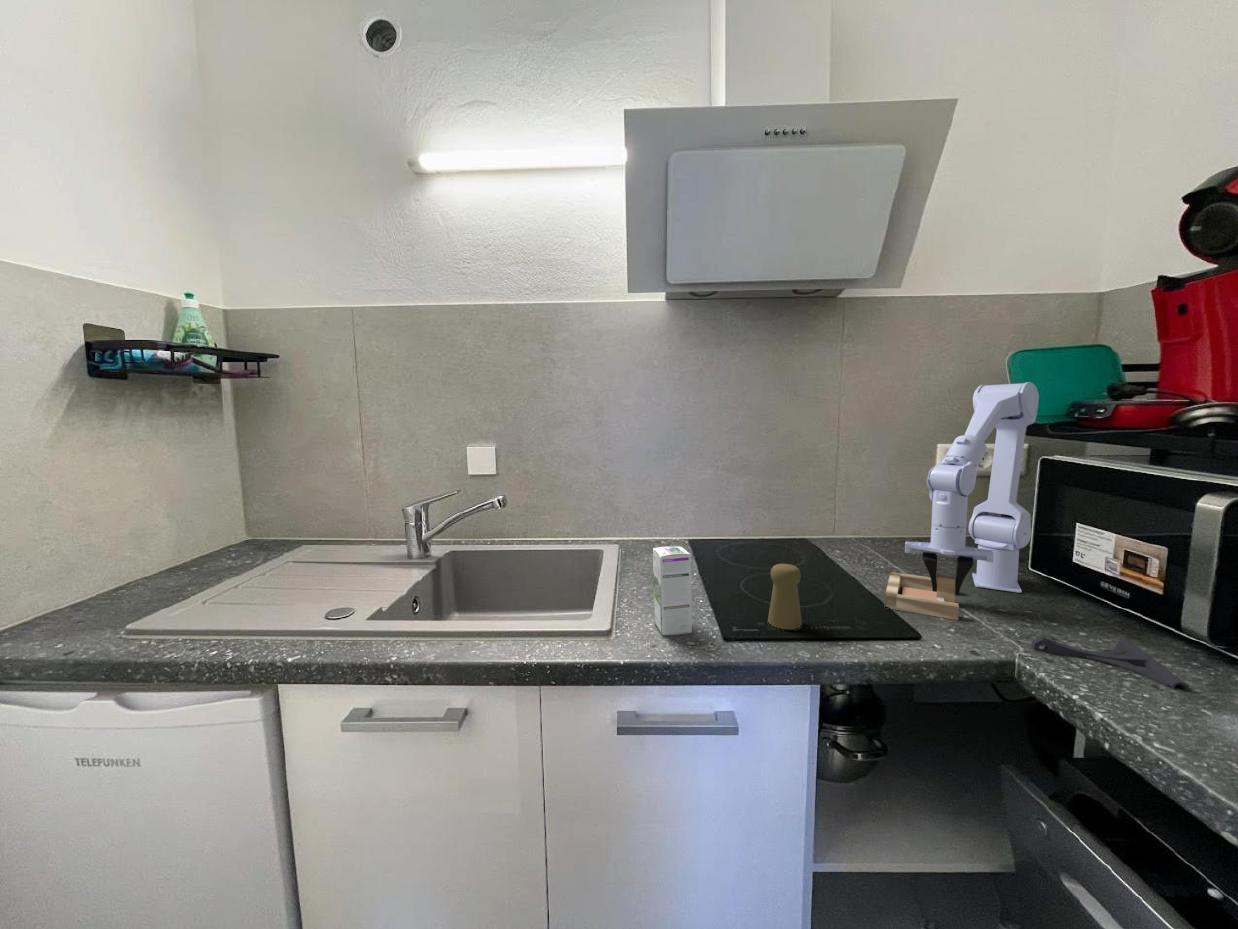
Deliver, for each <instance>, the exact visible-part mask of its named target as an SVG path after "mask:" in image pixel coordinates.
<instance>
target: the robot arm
mask: <svg viewBox="0 0 1238 929" xmlns="http://www.w3.org/2000/svg"><path fill="white" fill-rule="evenodd" d="M1039 400H1040V394H1039V392H1038V388H1037V386H1036V385H1035V384H1034V383H1033V382H1030V381H1028V382H1027V381H1026V382H1023V383H1021V382H1020V383H1007V384H1005V383H1004V384H1002V383H1001V384H988V385H987V384H980V385H979V386H977V388H976V389H975V391H974V392H973V396H972V407H973V411H974V412H973V414H972V416H971V419H970V421H969V424H968V426H967V428H966V429H965V430H966V431H965V433H964V434H963V435H959V436H957V437H956V438H955V439H954V441H952V444H951V445H950V447H949V449H948V450H947V451H946V452H947V453H946V454H945V456H944V457H943V459H942V461H941V462H940V463H939V464H935V466H933V467H931V468H930V470H929V471H928V475H927V477H926V486H927V488H928V490H929V492H928V493H929V499H930V501H931V502H932V503H931V504H932V507H931V525H930V526H931V528H930V530H931V532H930V542H925V541H922V542H920V541H905V543H904V544H905V545H904V553H907V554H911V553H912V554H913V553H915V554H921V555H922V562H923V563H924V565H925V567H926V570H927V572H928V574H929V577H930V578H931V582H932V589H933V591H934V592H937V580H936V578H937V573H938V572H937V571H938V557H939V556H941V557H949V558H956V566H955V568H956V569H955V570H956V571H955V596H956V595H957V596H960V591H961V587H962V585H963V582H964V580H965V578H966V577H967V575H968V574H969V572H970V571H971V570H972V569H973V565H974V560H976V573H971V575H972V580H973V584H974V587H976V588H982V589H983V588H985V589H991V590H999V591H1004V592H1012V593H1022V589H1021V587H1020V585H1019V583H1018V575H1019V574H1018V573H1019V558H1020V557H1019V556H1020V549H1024V548H1025V547H1026V546H1028V544H1029V543H1030V541H1031V538H1032V533H1033V532H1032V526H1031V523H1032V521H1031V520H1032V516H1031V513H1029V511H1028V510H1026V509H1025V508H1024V507H1023V506H1021V505H1020V504H1019V503H1018V502H1017V498H1018V497H1017V496H1018V490H1019V484H1020V482H1019V481H1020V475H1021V468H1022V460H1023V454H1024V446H1025V438H1026V433H1027V428H1028V426H1030V425H1032V424H1034V423H1036V418H1037V415H1038V408H1039V402H1040V401H1039ZM995 429H996V435H995V442H994V443H995V444H994V450H993V457H992V466H991V472H990V473H991V474H990V480H989V486H988V487H989V488H988V495H987V499H986V500H985V501H982V502H981V503H980V504H977V505H976V506H975V507H974V508H973V512H972V515H971V517H970V520H969V522H968V533H969V535H970V537H971V538H972V540H974V544H978V545H977V547H971V546H966V537H967V536H966V535H967V517H968V516H967V515H968V496H969V495H970V494H971V493H972V492H973V491H974V488H975V487H976V480H977V479H976V478H977V475H978V470H977V469H978V467H979V465H980V464H981V462H982V460H983V457H984V455H985V454H986V452H987V449H988V446H987V444H986V443H985V441H986V440H987V439H988V437H989V436H990V434H992V432H993V431H994V430H995ZM998 514H999V515H998ZM1001 515H1002V516H1001ZM1004 515H1005V516H1004ZM1006 515H1007V516H1006ZM1009 516H1011V517H1009Z"/></svg>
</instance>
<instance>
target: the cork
mask: <svg viewBox="0 0 1238 929" xmlns="http://www.w3.org/2000/svg"><path fill="white" fill-rule="evenodd" d="M801 577H802V575H801V571H800V569H799V567H797V566H796V565H793V564H789V563H778V564H775V565H773V567H771V570H770V578H771V580H772V582H773V585H772V592H771V599H770V604H769V612H768V616H767V623H768V622H769V624H771V625H772V626H774V627H777V628H781V629H795V628H799V627H800V626H801V625H802V626H803V621H802V620H803V619H802V615H801V614H802V612H801V606H800V605H801V604H800V595H799V588H798V587H799V586H798V585H799V583H800V581H801ZM769 624H768V625H769Z"/></svg>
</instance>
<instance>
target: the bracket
mask: <svg viewBox="0 0 1238 929" xmlns="http://www.w3.org/2000/svg"><path fill="white" fill-rule="evenodd" d="M1041 646H1044V647H1043V648H1041V649H1042V650H1040V647H1041ZM1031 649H1033V650H1034V652H1036V651H1044V652H1046V654H1050V653H1051V654H1050V655H1052V654H1053V655H1057V654H1058V655H1059V656H1065V655H1066V657H1072V658H1073V657H1074V658H1080V659H1081V658H1082V659H1088V660H1092V661H1096V662H1101V663H1104V664H1108V665H1111V666H1115V667H1118V668H1121V667H1122V669H1124V670H1127V671H1130V672H1132V671H1133V672H1132V673H1135V672H1136V673H1135V674H1138V675H1141V676H1143V677H1146V678H1148V679H1150V680H1152V681H1154V682H1156V683H1159V684H1161V685H1163V686H1165V687H1168V688H1171V689H1172V690H1176V686H1178V687H1179V688H1181V689H1182V690H1183V691H1184V692H1189V691H1190V687H1189V685H1188V684H1186V683H1185V682H1184V681H1182V679H1179V677H1178V676H1176V675H1174V673H1172V672H1171V671H1169V670H1168V669H1166V668H1165V667H1164V666H1162V665H1161V664H1160V663H1159V662H1157V661H1156V660H1154V659H1153V658H1152V657H1151V656H1149V655H1148V654H1147V653H1145V652H1144V651H1143V650H1141V649H1140V648H1138V646H1137V645H1134V644H1133V643H1132V642H1131V641H1129V640H1128V639H1125V638H1124V639H1120V640H1119V641H1118V642H1117V644H1116V645H1115V647H1114V648H1112V649H1111V650H1106V651H1090V650H1086V649H1083V648H1077V647H1073V646H1070V645H1066V644H1064V643H1060V642H1058V641H1057V642H1056V641H1055V640H1052V639H1048V638H1046V637H1043V636H1039V637H1035V638H1034V639H1033V640H1032V641H1031ZM1045 649H1046V650H1045ZM1142 667H1144V668H1142ZM1146 667H1147V668H1148V669H1147V668H1146Z"/></svg>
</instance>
